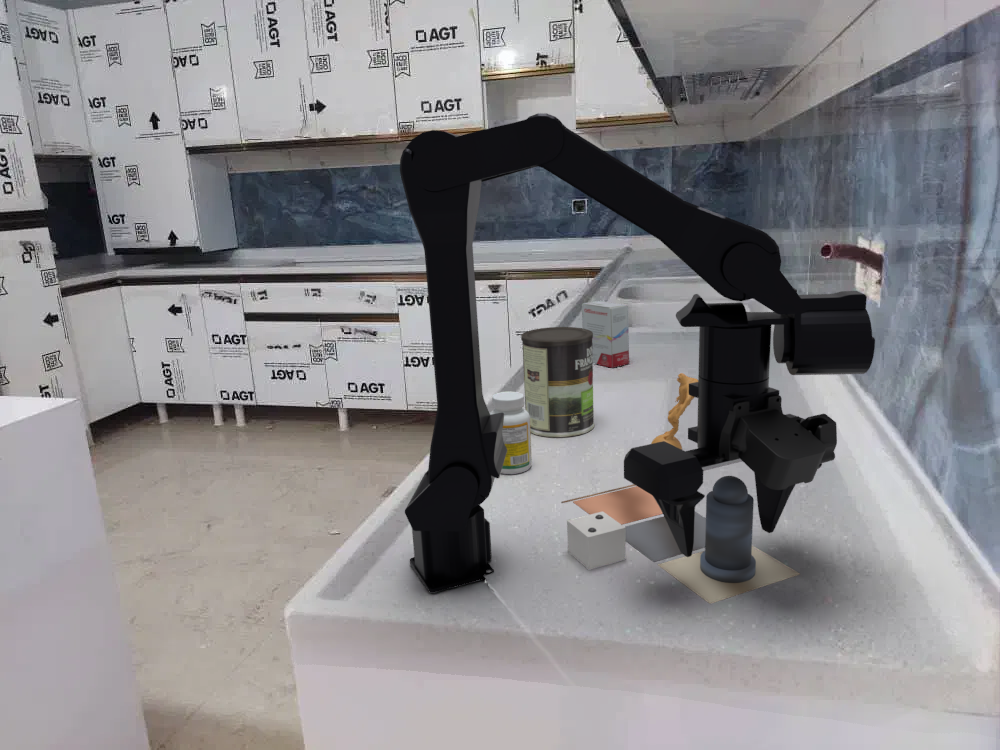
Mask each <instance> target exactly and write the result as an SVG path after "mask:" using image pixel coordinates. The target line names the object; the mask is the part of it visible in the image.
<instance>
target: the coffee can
mask: <svg viewBox="0 0 1000 750" xmlns="http://www.w3.org/2000/svg"><path fill="white" fill-rule="evenodd" d="M520 338H521V342H522V359H523V360H522V361H523V362H522V364H523V384H524V385H523V386H524V387H523V388H524V406H525V408H524V409H525V410H526V411H527V412H528V413H529V415H530V432H531V434H533V435H536V436H540V437H544V438H545V437H546V438H547V437H548V438H569V437H576V436H580V435H581V436H582V435H584V434H587V433H589V432H591V431H592V430H593V429H594V428H595V422H594V420H595V419H594V416H595V415H594V374H593V373H594V366H593V365H594V364H593V354H592V338H593V332H592V331H590V330H587V329H583V328H582V327H576V326H575V327H573V326H553V327H541V328H535V329H530V330H528V331H526V332H522V333H521V335H520Z"/></svg>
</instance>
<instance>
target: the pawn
mask: <svg viewBox="0 0 1000 750" xmlns="http://www.w3.org/2000/svg"><path fill="white" fill-rule="evenodd" d="M754 499H755V498H754V497H753V496H752V495H751V494H749V490H748V487H747V485H746V483H745V482H744V481H743V480H742V479H741V478H739V477H737V476H734V475H725V476H722V477H720V478H719V479H717V480H716V481H715V483H714V484H713V487H712V491H710V492H708V493H707V494H706V495H705V500H706V502H705V503H706V505H705V518H706V535H705V548H704V551H703V552H702V551H701V552H702V554H701V557H700V569H701V571H702V572H703V573H704V574H705V575H706V576H708V577H709V578H711V579H714V580H717V581H720V582H726V583H741V582H745V581H748V580H750V579H752V578H753V577H754V575H755V570H756V560H755V558H754V557H753V556H752V555H751V552H752V546H753V526H754V525H753V523H754V505H755V504H754Z"/></svg>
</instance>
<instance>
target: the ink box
mask: <svg viewBox="0 0 1000 750" xmlns="http://www.w3.org/2000/svg"><path fill="white" fill-rule="evenodd" d="M581 320H582V324H581V325H582V327H581V328H583V329H587V330H590V331H592V332H593V338H592V354H593V363H595V364H594V365H597V364H599V365H598V366H602V367H607V368H611V369H613V368H618V367H622V366H625V365H629V364H630V344H629V343H630V336H629V328H630V327H629V305H628V304H625V303H624V304H623V303H616V302H610V301H603V300H601V301H600V300H599V301H598V300H597V301H589V302H583V303H582V304H581Z"/></svg>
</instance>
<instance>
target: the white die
mask: <svg viewBox="0 0 1000 750" xmlns="http://www.w3.org/2000/svg"><path fill="white" fill-rule="evenodd" d="M566 529H567V530H566V532H567V533H566V535H567V538H566V539H567V553H569V554H570V555H571V556H572V557H574V558H575V559H576V560H577V561H578V562H579V563H580V564H581V565H583V566H584V567H585V568H586V569H587V570H588V571H590V570H594V569H597V568H601V567H604V566H608V565H611V564H615V563H619V562H623V561H625V560H626V559H627V558H626V557H627V556H626V548H627V547H626V543H627V542H626V540H625V525H624V524H623V525H621V524H620V523H618V522H617V521H616V520H614V519H613V518H611V517H610V516H609V515H607V514H606V513H604V512H603V511H602V512H598V513H594V514H586V515H583V516H579V517H576V518H571V519H567V520H566Z"/></svg>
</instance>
